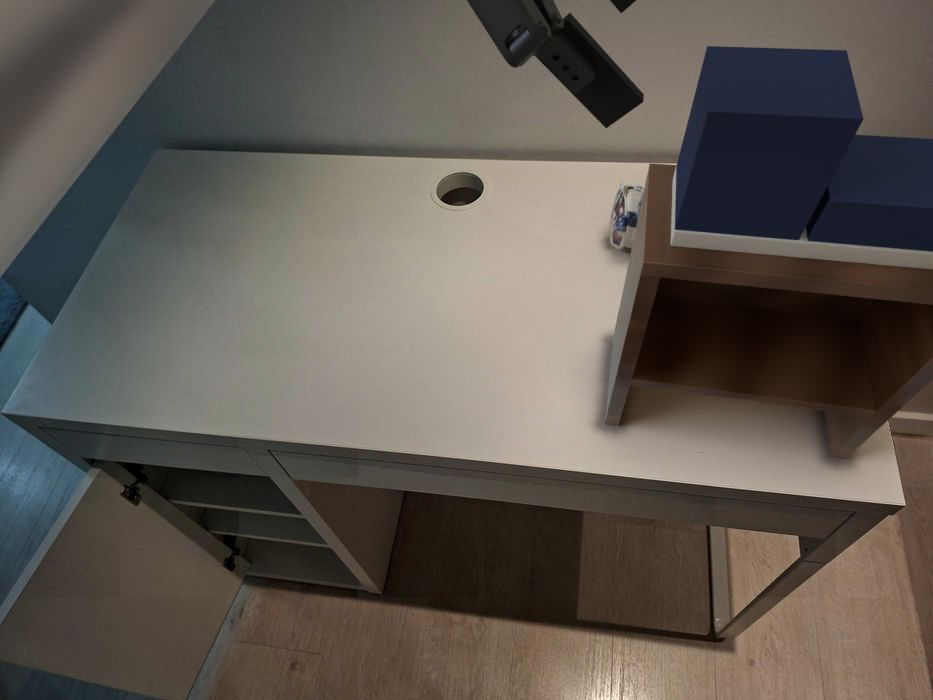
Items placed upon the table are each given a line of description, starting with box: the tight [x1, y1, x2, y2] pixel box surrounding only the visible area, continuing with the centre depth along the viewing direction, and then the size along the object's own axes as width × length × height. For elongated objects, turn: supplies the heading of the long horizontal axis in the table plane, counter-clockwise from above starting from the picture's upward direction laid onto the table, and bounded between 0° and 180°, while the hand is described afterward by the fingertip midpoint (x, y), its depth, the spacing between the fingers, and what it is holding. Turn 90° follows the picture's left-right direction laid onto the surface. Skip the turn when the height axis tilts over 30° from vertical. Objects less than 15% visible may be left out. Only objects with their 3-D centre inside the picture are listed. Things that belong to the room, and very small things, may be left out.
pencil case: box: [609, 178, 644, 252], centre depth 81 cm, size 22×8×10 cm, turn 85°
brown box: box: [604, 163, 933, 460], centre depth 59 cm, size 26×12×28 cm, turn 78°
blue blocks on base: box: [671, 45, 933, 270], centre depth 43 cm, size 22×8×12 cm, turn 78°
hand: (631, 50), depth 39 cm, fingers open, 13 cm apart
